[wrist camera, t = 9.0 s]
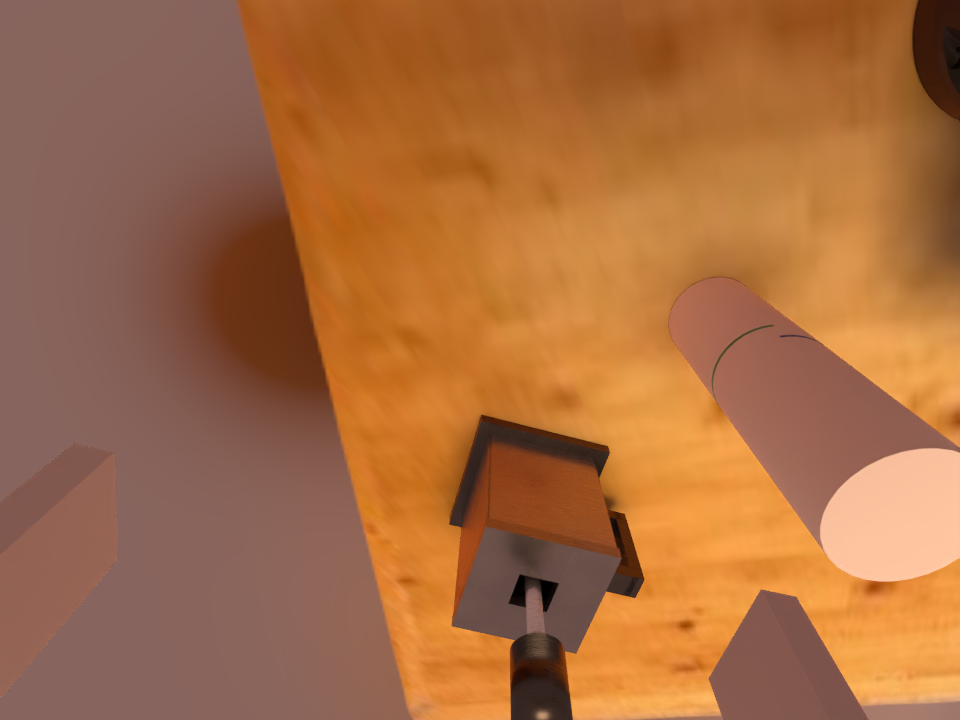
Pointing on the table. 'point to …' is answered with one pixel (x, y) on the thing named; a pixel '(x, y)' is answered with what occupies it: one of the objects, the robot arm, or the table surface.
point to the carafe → (537, 533)
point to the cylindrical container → (825, 435)
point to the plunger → (538, 667)
